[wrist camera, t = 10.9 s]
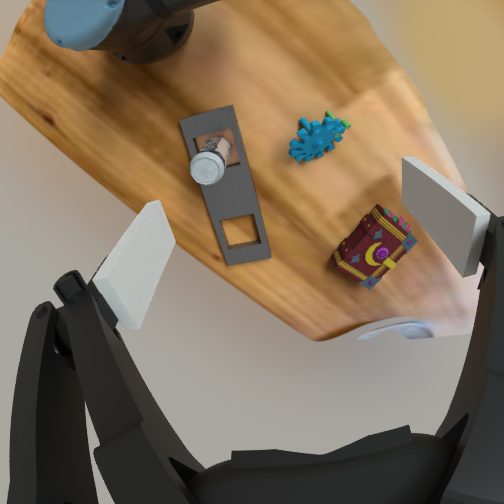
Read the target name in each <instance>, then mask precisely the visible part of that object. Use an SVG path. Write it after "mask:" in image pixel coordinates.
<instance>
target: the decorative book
mask: <svg viewBox="0 0 504 504" xmlns="http://www.w3.org/2000/svg"><path fill="white" fill-rule="evenodd" d="M397 219H398V218H397V217H396V216H394V215H393V213H392V212H391V211H390V210H389V211H388V210H387V209H386V208H385V210H384V209H383V208H382V207H381V206H380V205H378V204H377V205H376V207H375V208H374V209H373V210H372V211H371V212H370V214H369V215H368V214H366V215H365V216H364V218H363V219H362V220H361V221H360V222H361V224H360V225H359V226H358V227H357V228H356V230H355V231H354V232H353V233H352V234H351V235H350V236H349V237H348V238H345V239H344V240H343V241H342V242H341V243H340V247H339V248H338V249H337V251H336V252H335V253H334V254H333V255H332V256H331V257H332V260H333V263H334V266H335V268H337V269H338V270H340V271H342V272H343V273H345V274H347V275H348V276H350V277H352V278H353V279H355V280H357V281H358V282H359V283H360V284H361V285H363V286H365V287H366V288H368V289H369V290H370V289H371V288H372V287H373V286H374V285H375V284H376V283H378V282H379V281H380V280H381V279H382V276H383V275H384V274H385V273H386V272H387V271H388V270H389V269H393V268H394V267H395V266H396V265H397V264H396V262H397V261H398V260H399V259H400V258H401V257H402V256H403V255H404V254H406V253H407V252H408V251H409V250H410V249H411V248H412V247H413V246H414V245H415V244H416V243H417V242H418V240H417V239H416V238H415V237H414V236H412V235H411V234H410V233H411V231H410V230H409V227H410V225H408V224H407V223H406V224H405V223H403V221H404V219H403V218H402V217H401V216H400V218H399V222H398V221H397Z"/></svg>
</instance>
